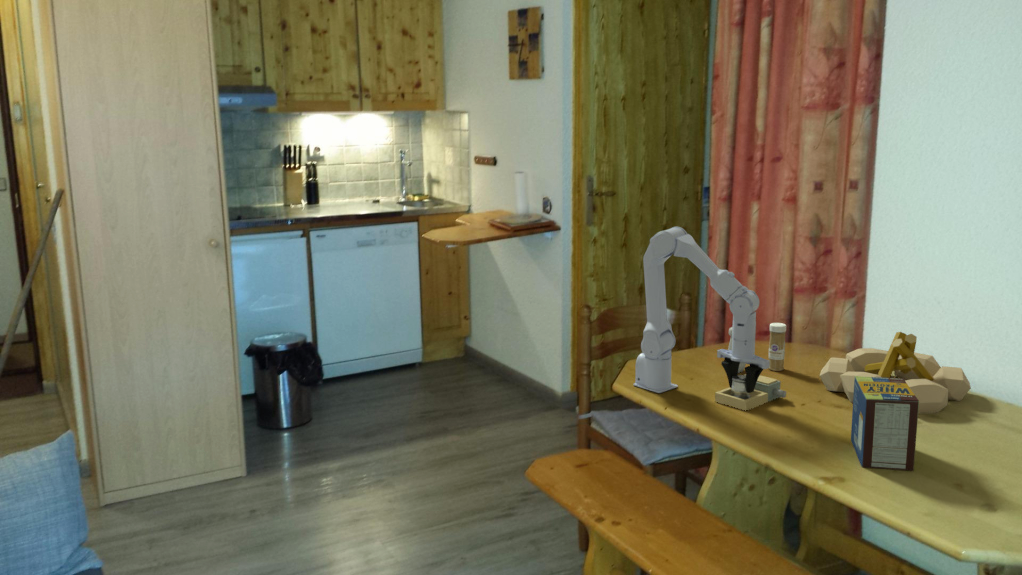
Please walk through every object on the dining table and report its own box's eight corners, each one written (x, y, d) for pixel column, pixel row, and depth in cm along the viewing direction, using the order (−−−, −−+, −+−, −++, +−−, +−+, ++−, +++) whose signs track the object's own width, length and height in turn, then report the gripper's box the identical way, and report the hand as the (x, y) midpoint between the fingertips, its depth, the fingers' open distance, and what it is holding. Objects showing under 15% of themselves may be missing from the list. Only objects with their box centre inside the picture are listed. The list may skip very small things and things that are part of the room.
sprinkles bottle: (767, 370, 246) (769, 325, 243) (768, 366, 250) (770, 321, 247) (783, 372, 244) (786, 326, 241) (784, 367, 248) (786, 322, 246)
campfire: (928, 426, 202) (934, 357, 199) (798, 393, 227) (802, 331, 224) (986, 392, 225) (992, 329, 221) (862, 365, 250) (866, 308, 246)
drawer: (714, 401, 221) (715, 384, 220) (748, 388, 231) (749, 371, 230) (756, 414, 212) (757, 395, 211) (789, 400, 221) (790, 382, 220)
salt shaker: (745, 374, 243) (747, 330, 240) (725, 373, 244) (726, 329, 241) (744, 368, 248) (746, 325, 246) (724, 367, 249) (725, 324, 247)
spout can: (726, 397, 221) (728, 373, 220) (739, 394, 224) (740, 370, 222) (741, 402, 217) (742, 378, 216) (753, 399, 220) (755, 374, 218)
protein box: (898, 443, 193) (904, 377, 189) (914, 471, 178) (920, 401, 175) (849, 440, 195) (853, 375, 192) (860, 467, 180) (865, 398, 177)
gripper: (710, 336, 220) (709, 386, 223) (758, 347, 209) (756, 399, 212) (727, 331, 225) (725, 380, 227) (775, 341, 214) (773, 393, 217)
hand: (741, 389), depth 220 cm, fingers closed on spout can, 5 cm apart
